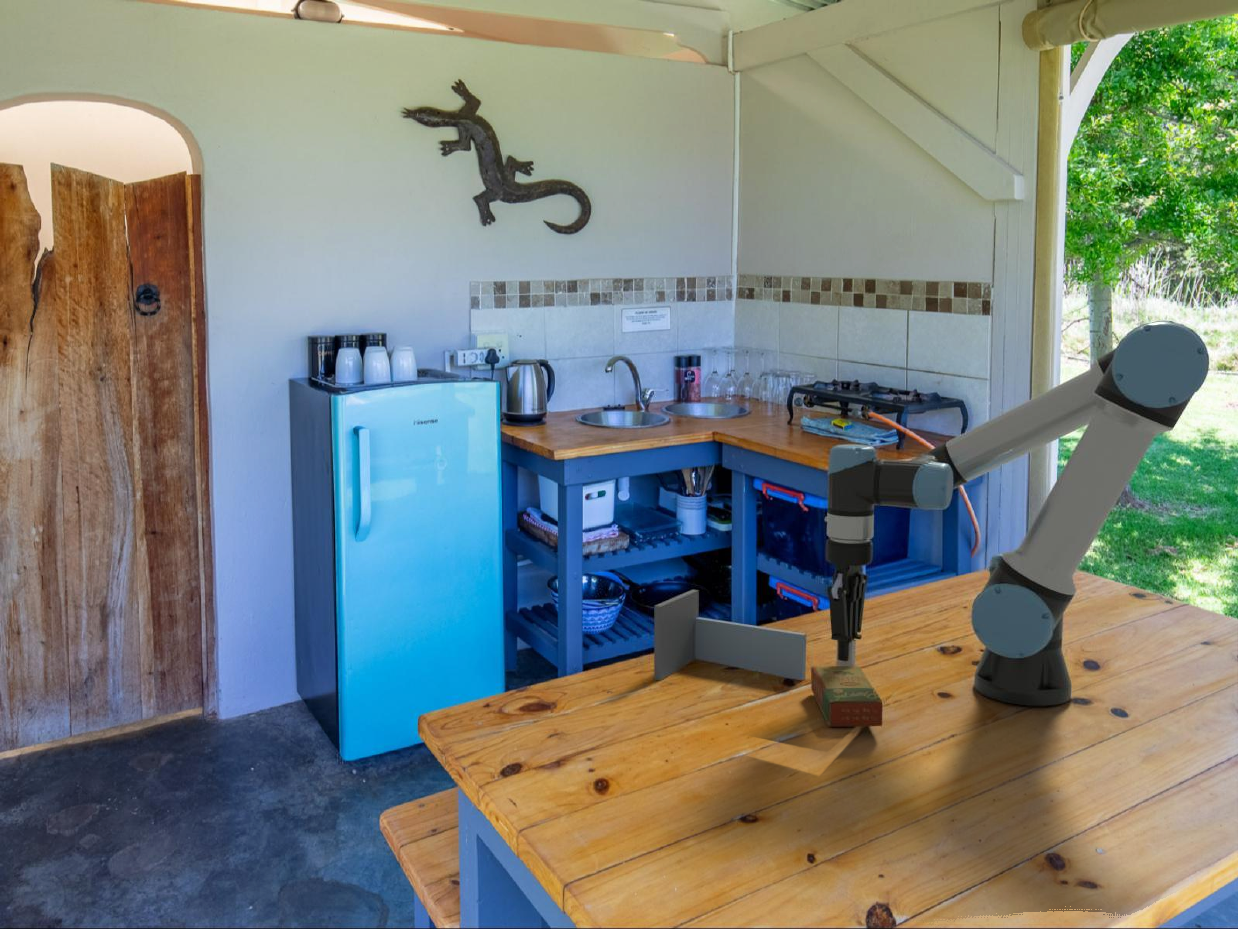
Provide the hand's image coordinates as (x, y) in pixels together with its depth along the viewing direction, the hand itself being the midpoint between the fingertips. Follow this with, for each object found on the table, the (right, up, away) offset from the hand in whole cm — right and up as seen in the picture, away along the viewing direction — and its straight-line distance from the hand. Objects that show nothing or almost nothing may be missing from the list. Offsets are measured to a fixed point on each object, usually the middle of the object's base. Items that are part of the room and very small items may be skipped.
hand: (845, 677), depth 176 cm
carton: (-3, -5, -3) cm, 6 cm away
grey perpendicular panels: (-18, -1, +6) cm, 19 cm away
